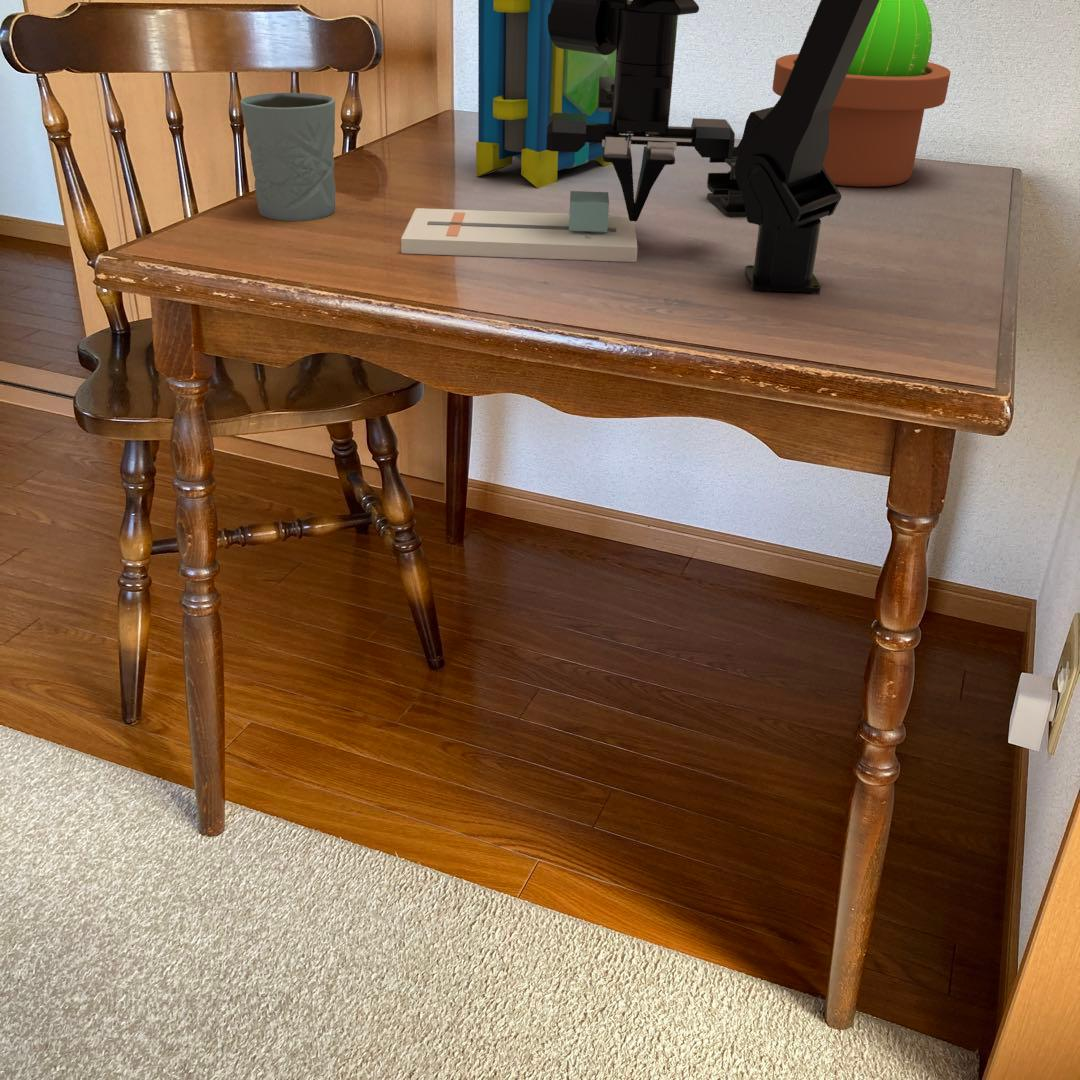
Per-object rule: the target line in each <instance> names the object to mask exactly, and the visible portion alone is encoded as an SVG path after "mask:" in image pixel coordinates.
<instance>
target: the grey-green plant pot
mask: <svg viewBox="0 0 1080 1080" xmlns="http://www.w3.org/2000/svg"><path fill="white" fill-rule="evenodd" d="M240 108H241V113H242V117H243V119H242V120H243V124H244V128H245V133H246V138H247V140H246V141H247V142H246V143H247V147H248V149H249V151H250V161H251V166H252V173H253V177H254V190H255V197H256V201H257V208H258V209H257V210H258V214H260V215H261V216H263V217H265V218H267V219H272V220H276V221H285V222H303V221H304V222H305V221H313V220H314V221H315V220H320V219H323V218H327V217H330V216H331V215H332V214H334V213H335V210H336V182H335V181H336V180H335V175H334V172H335V171H334V170H335V166H336V165H335V158H334V157H335V156H334V155H335V153H334V147H335V140H336V138H335V137H336V136H335V133H336V100H335V98H334V97H332V96H328V95H325V94H317V93H306V92H275V93H273V92H272V93H271V92H270V93H262V94H254V95H250V96H245V97H243V98H241V99H240Z"/></svg>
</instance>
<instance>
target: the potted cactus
mask: <svg viewBox="0 0 1080 1080" xmlns="http://www.w3.org/2000/svg"><path fill="white" fill-rule="evenodd" d="M927 7H928V8H927ZM817 8H818V6H816V9H817ZM931 9H932V7H931V6H927V5H926V3H925V1H924V0H879V2H878V5H877V7H876V9H875V11H874V14H873V16H872V18H871V20H870V23H869V25H868V27H867V29H866V32H865V34H864V36H863V38H862V41H861V43H860V45H859V47H858V50H857V52H856V54H855V56H854V59H853V61H852V63H851V65H850V68H849V70H848V72H847V74H846V77H845V79H844V81H843V83H842V86H841V88H840V90H839V92H838V95H837V97H836V99H835V101H834V104H833V106H832V108H831V111H830V116H829V144H828V148H827V151H826V155H825V159H824V162H823V167H824V169H825V170H826V172H827V174H828V175H829V177H830V178H831V180H832V181H833V183H834V184H835V186H841V187H842V186H845V187H859V188H862V187H863V188H870V187H871V188H875V187H877V188H878V187H879V188H880V187H881V188H882V187H891V186H896V185H900V184H902V183H905V182H907V181H908V180H909V179H910V178H911V177H912V175H913V170H914V166H915V160H916V154H917V148H918V144H919V139H920V134H921V128H922V124H923V118H924V114H925V110H927V109H933V108H937V107H940V106H942V105H944V103H945V101H946V97H947V94H948V93H947V92H948V88H949V83H950V77H951V71H950V69H949V68H947V67H945V66H943V65H940V64H937V63H935V62H934V61H932V60H935V59H932V58H931V59H930V56H931V50H932V45H933V44H932V42H933V32H935V29H932V23H933V22H934V21H932V20H931V18H933V17H936V13H935V14H932V15H931V16H930V13H929V10H931ZM809 28H810V25H809V27H808V30H809ZM808 30H807V31H806V33H805V34H806V35H807V33H808ZM806 35H805V36H806ZM802 40H803V41H804V38H803V39H802ZM798 55H799V53H794V54H793V53H792V54H787V55H784V56H780V57H778V58H777V59H776V61H775V64H774V65H775V66H774V74H773V80H772V91H773V92H774V93H775V94H776V95H778V96H779V97H781V96H782V93H783V91H784V89H785V86H786V84H787V81H788V79H789V76H790V74H791V72H792V69H793V67H794V64H795V62H796V59H797V57H798ZM929 61H930V62H929Z"/></svg>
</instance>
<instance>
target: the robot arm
mask: <svg viewBox="0 0 1080 1080" xmlns="http://www.w3.org/2000/svg"><path fill="white" fill-rule="evenodd" d="M878 2H879V0H820V1H819V4H818V5H817V7H818V8H817V7H816V12H815V14H814V15H813V18H812V21H811V23H810V24H809V26H810V28H809V27H808V29H809V30H807V31H808V33H807V32H806V33H807V35H805V37H804V39H803V43H802V46H801V47H800V50H799V53H798V54H799V55H798V57H797V59H796V62H795V64H794V67H793V69H792V72H791V74H790V76H789V79H788V81H787V84H786V86H785V89H784V91H783V93H782V96H779V97H780V98H779V99H778V101H777V102H776V103H775V105H774V106H771V107H766V108H763V109H760V110H755V111H751V112H750V113H749V115H748V117H747V119H746V122H745V126H744V129H743V134H742V137H741V139H740V142H739V143H738V145H737V146H735V141H736V139H735V138H736V137H735V136H736V135H735V132H734V130H733V128H732V126H731V125H730V123H729V122H728V121H727V120H726V118H725V119H724V118H699V117H693V118H692V119H691V121H692V122H691V126H670V113H671V100H672V91H673V90H672V88H673V77H674V66H675V63H674V62H675V54H676V42H677V32H678V19H679V16H682V15H684V16H685V15H692V14H697V13H698V12H699V11H700V6H699V4H698V3H697V2H696V1H695V0H554V2H553V4H552V7H551V11H550V13H549V14H548V31H549V35H550V38H551V40H552V42H553V43H554V45H555V46H557V47H558V48H561V49H567V50H574V51H580V52H587V53H594V54H600V55H609V54H611V53H613V52H614V51H615V50H616V49H617V50H616V67H615V77H599V92H598V111H608V112H611V121H612V124H599V123H586V121H587V114H577V113H553V114H552V115H551V116H550V117H549V118H548V125H547V147H546V150H549V151H558V152H578V151H579V150H580V149H581V148H582V147H583V146H584V145H585V144H586V142H589V143H602V158H603V161H604V162H611V163H613V164H612V165H613V168H614V171H615V172H616V175H617V178H618V180H619V183H620V186H621V190H622V194H623V198H624V203H625V207H626V211H627V216H629V220H630V221H634V222H638V220H639V218H640V216H641V213H642V210H643V208H644V206H645V205H646V204H645V203H646V202H647V199H648V197H649V195H650V193H651V189H652V188H653V186H654V185H655V184H656V181H657V180H658V178H659V176H660V174H661V173H662V171H663V170H664V168H665V166H667V165H668V166H670V165H672V166H673V165H676V157H675V153H674V152H675V151H676V150H677V147H689V148H690V147H692V148H693V147H694V149H695V150H696V151H697V153H698V154H699V155H700V156H701V158H707V159H708V158H709V159H710V158H732V157H733V155H738V157H737V159H736V163H735V167H734V177H735V179H736V180H737V184H738V187H739V189H740V191H741V192H742V196H743V201H744V206H745V212H746V217H745V218H746V220H747V223H749V224H753V225H758V231H757V232H758V233H757V239H756V247H755V255H754V261H753V262H754V263H753V265H745V268H744V272H745V274H746V277H747V280H748V282H749V284H750V286H751V289H752V290H754V291H770V292H771V291H772V292H773V291H774V292H795V293H796V292H800V293H801V292H802V293H820V292H821V289H822V287H821V285H820V283H819V281H818V279H817V277H816V276H815V274H814V268H815V262H816V256H817V249H818V243H819V236H820V230H821V223H822V221H821V219H822V218H825V217H827V216H828V217H830V216H832V215H833V214H834V212H835V211H836V209H837V207H838V205H839V204H840V201H841V199H842V194H841V192H840V191H839V189H838V188H837V185H835V184H834V183H833V181H832V180H831V178H830V177H829V175H828V174H827V172H826V170H825V169H824V167H823V162H824V159H825V155H826V151H827V148H828V144H829V116H830V111H831V108H832V106H833V104H834V101H835V99H836V97H837V95H838V92H839V90H840V88H841V86H842V83H843V81H844V79H845V77H846V74H847V72H848V70H849V68H850V65H851V63H852V61H853V59H854V56H855V54H856V52H857V50H858V47H859V45H860V43H861V41H862V38H863V36H864V34H865V32H866V29H867V27H868V25H869V23H870V20H871V18H872V16H873V14H874V11H875V9H876V7H877V5H878ZM619 134H622V135H619ZM632 145H639V146H641V145H642V146H643V145H645V146H643V153H642V159H641V166H640V172H639V176H638V177H639V178H638V182H637V187H636V192H634V191H635V190H634V177H633V176H634V174H633V172H634V171H633V159H632V150H631V147H632ZM734 147H736V148H735V149H734ZM634 194H635V195H634Z"/></svg>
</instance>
